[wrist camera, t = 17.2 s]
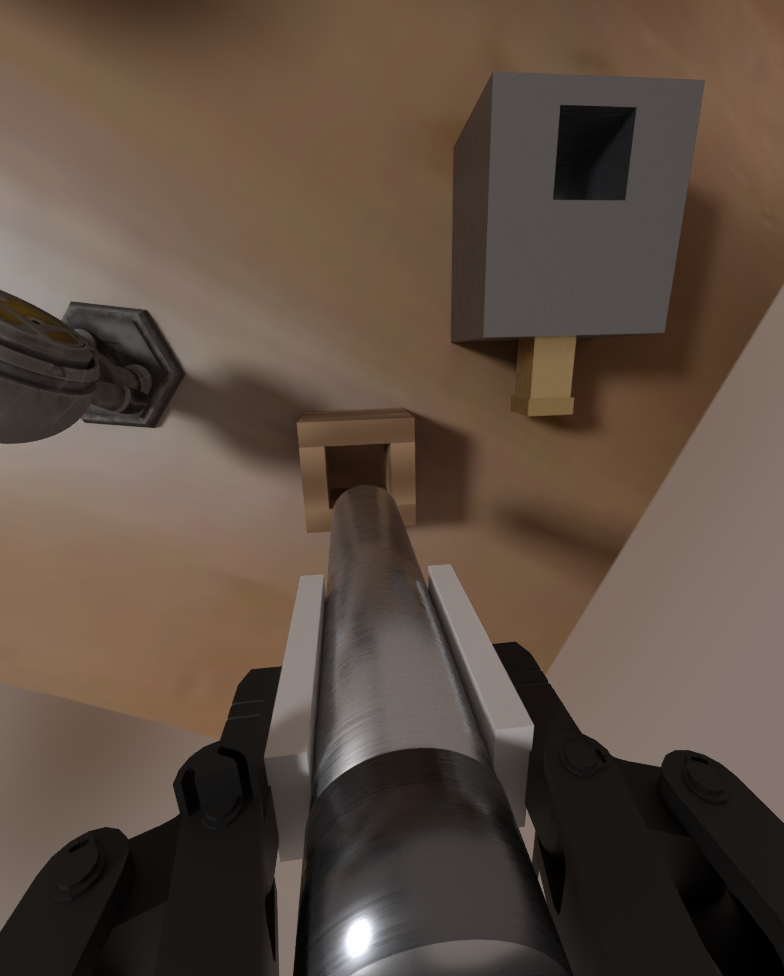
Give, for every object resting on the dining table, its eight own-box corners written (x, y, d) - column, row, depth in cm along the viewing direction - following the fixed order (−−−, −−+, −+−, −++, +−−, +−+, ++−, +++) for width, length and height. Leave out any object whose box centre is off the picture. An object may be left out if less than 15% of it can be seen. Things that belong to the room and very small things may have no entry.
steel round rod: (328, 485, 22) (269, 968, 4) (398, 481, 22) (594, 913, 5) (333, 550, 23) (301, 1136, 6) (400, 545, 23) (563, 1081, 6)
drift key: (510, 411, 33) (527, 416, 30) (518, 283, 30) (537, 274, 27) (551, 409, 33) (572, 414, 30) (562, 282, 30) (587, 274, 27)
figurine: (201, 346, 31) (80, 336, 17) (139, 453, 33) (-17, 525, 19) (87, 270, 29) (-163, 184, 15) (27, 389, 31) (-248, 415, 16)
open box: (304, 411, 33) (296, 422, 28) (402, 407, 34) (414, 417, 28) (312, 505, 36) (307, 532, 30) (404, 499, 36) (415, 525, 31)
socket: (451, 342, 33) (483, 337, 25) (453, 146, 29) (492, 71, 21) (593, 338, 34) (664, 332, 27) (614, 150, 30) (705, 80, 23)
